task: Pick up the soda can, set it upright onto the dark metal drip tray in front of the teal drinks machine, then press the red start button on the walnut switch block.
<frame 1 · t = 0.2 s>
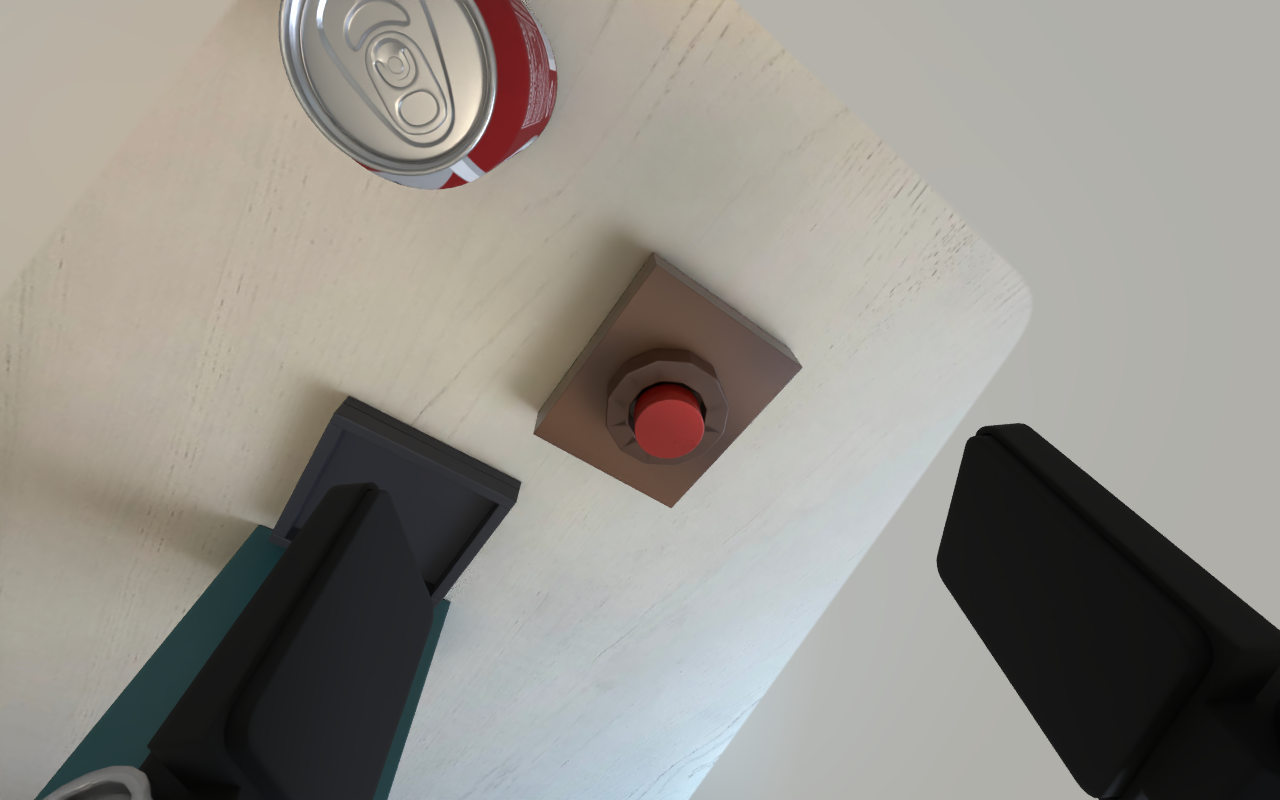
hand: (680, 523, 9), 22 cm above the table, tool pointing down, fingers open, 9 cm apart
drinks machine: (344, 590, 40), on the table
start switch: (661, 381, 33), on the table
start button: (668, 421, 29), point 5 cm above the table, slide at 0.1 cm
soda can: (484, 75, 25), on the table
drip tray: (401, 501, 37), on the table
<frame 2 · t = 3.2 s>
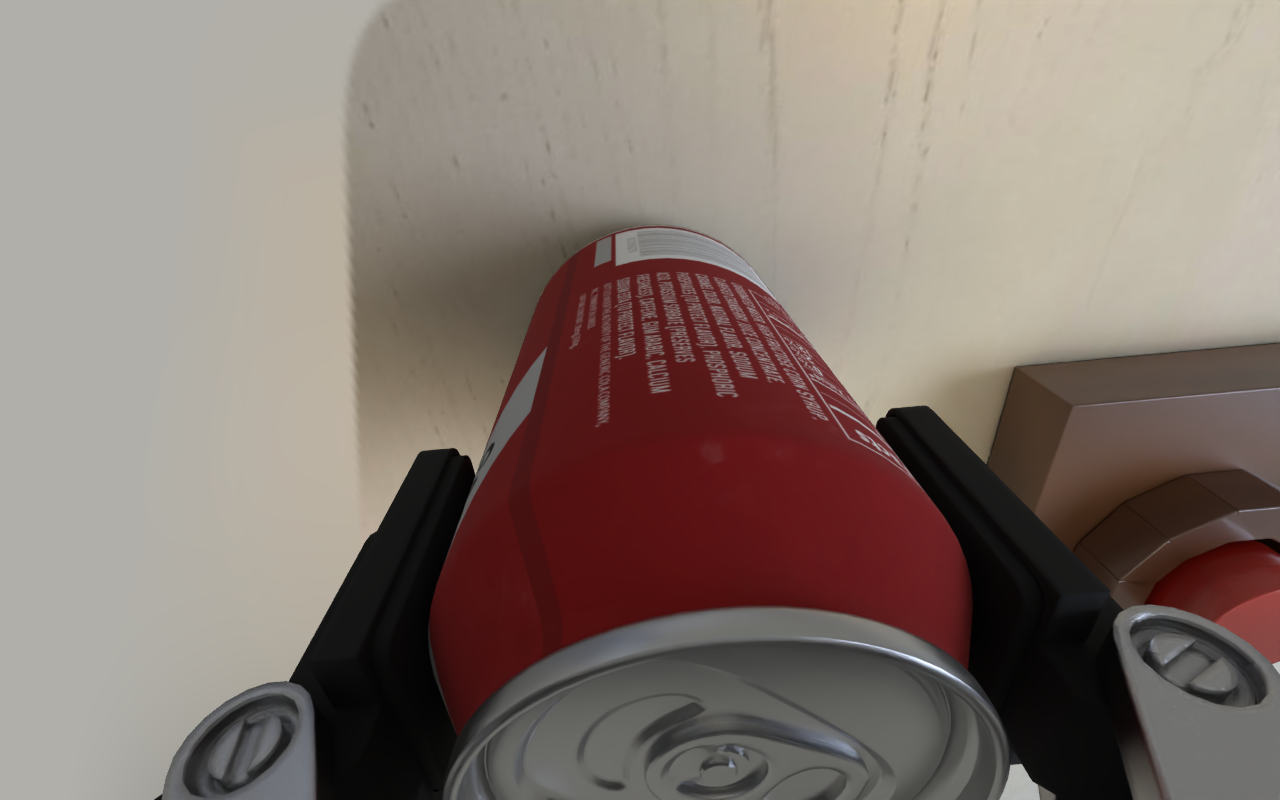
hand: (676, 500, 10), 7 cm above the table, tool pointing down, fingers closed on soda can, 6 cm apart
start switch: (1111, 503, 20), on the table
start button: (1234, 606, 16), point 5 cm above the table, slide at 0.1 cm
soda can: (651, 336, 16), on the table, touching gripper
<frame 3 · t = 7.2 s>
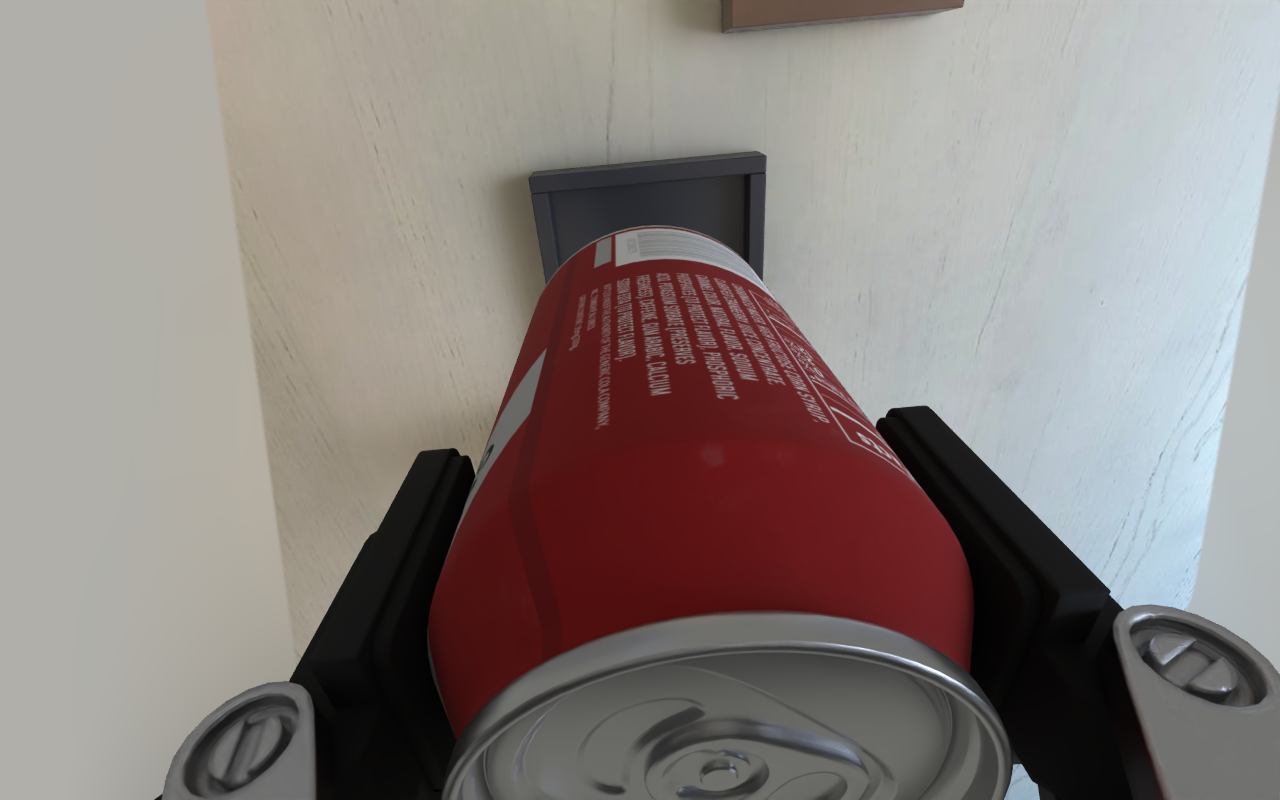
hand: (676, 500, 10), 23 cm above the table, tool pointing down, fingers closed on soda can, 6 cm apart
soda can: (651, 337, 16), point 16 cm above the table, touching gripper
drip tray: (652, 271, 31), on the table
when the fingers open (8 cm above the table, at t = 11.3 s): soda can stays where it is, resting on drip tray.
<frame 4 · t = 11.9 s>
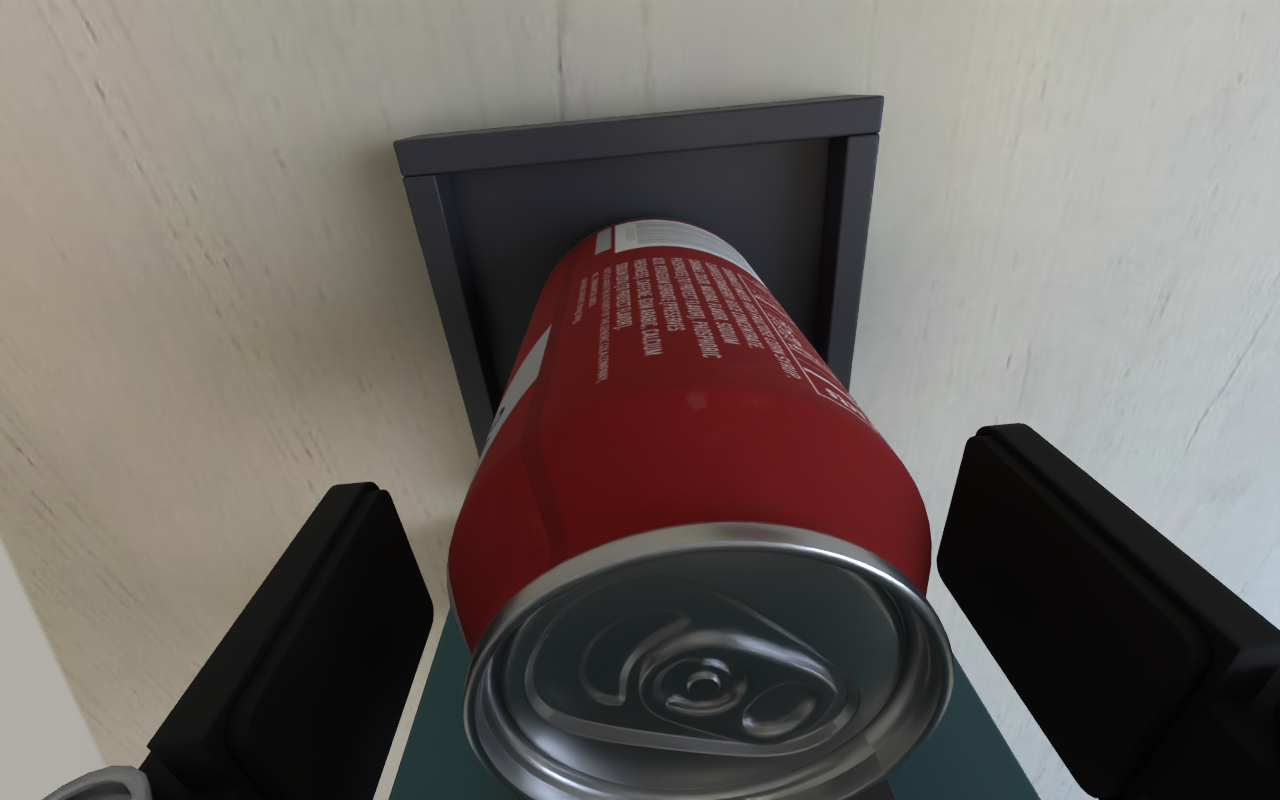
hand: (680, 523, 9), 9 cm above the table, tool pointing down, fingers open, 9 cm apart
drinks machine: (668, 551, 22), on the table
soda can: (649, 324, 17), point 1 cm above the table, touching drip tray
drip tray: (650, 320, 17), on the table
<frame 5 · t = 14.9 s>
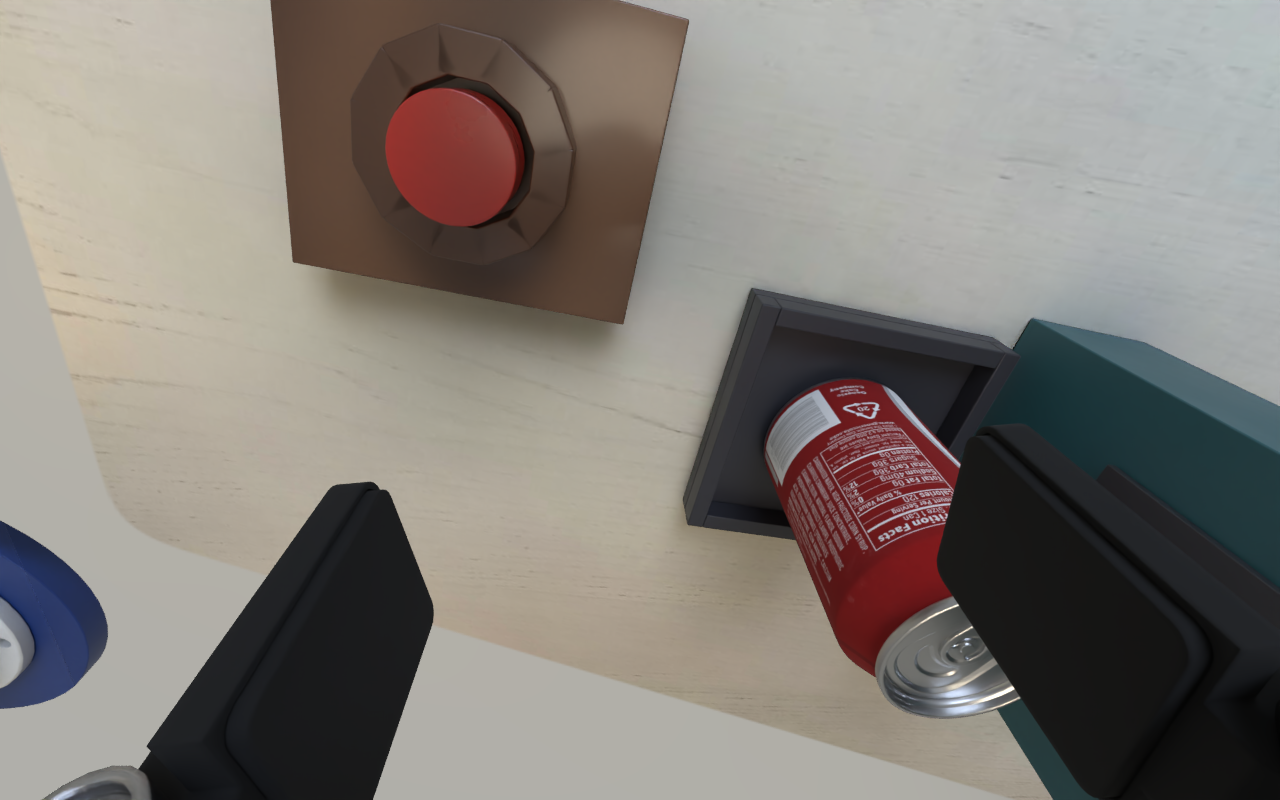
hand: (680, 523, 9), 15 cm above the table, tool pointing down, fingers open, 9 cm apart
drinks machine: (1007, 454, 28), on the table
start switch: (488, 144, 20), on the table
start button: (458, 158, 16), point 5 cm above the table, slide at 0.1 cm
soda can: (829, 431, 26), point 1 cm above the table, touching drip tray
drip tray: (827, 424, 27), on the table
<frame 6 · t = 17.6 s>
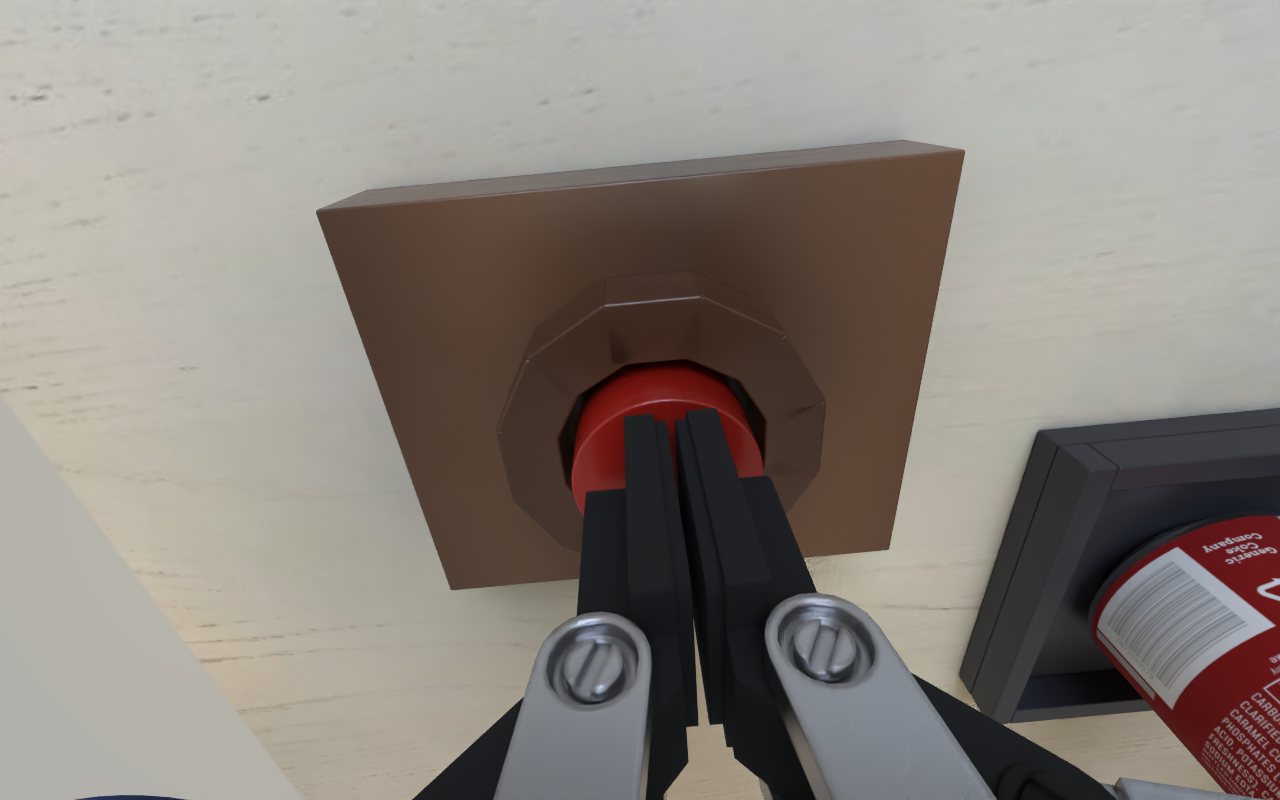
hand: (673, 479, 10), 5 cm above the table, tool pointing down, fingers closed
start switch: (651, 367, 15), on the table
start button: (664, 456, 11), point 4 cm above the table, slide at -0.3 cm, touching gripper
soda can: (1172, 570, 18), point 1 cm above the table, touching drip tray
drip tray: (1159, 555, 19), on the table
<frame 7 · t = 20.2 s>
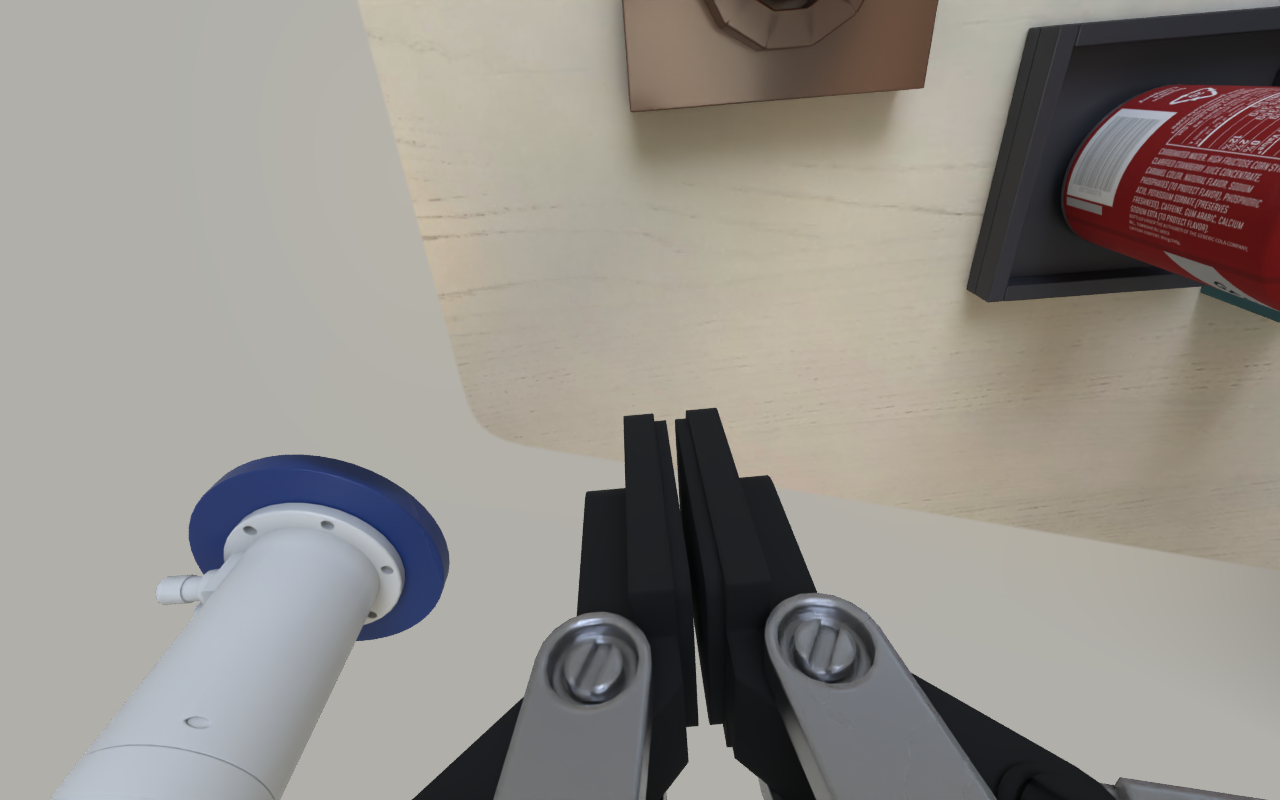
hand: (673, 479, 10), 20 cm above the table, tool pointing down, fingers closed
soda can: (1123, 167, 26), point 1 cm above the table, touching drip tray
drip tray: (1116, 163, 26), on the table
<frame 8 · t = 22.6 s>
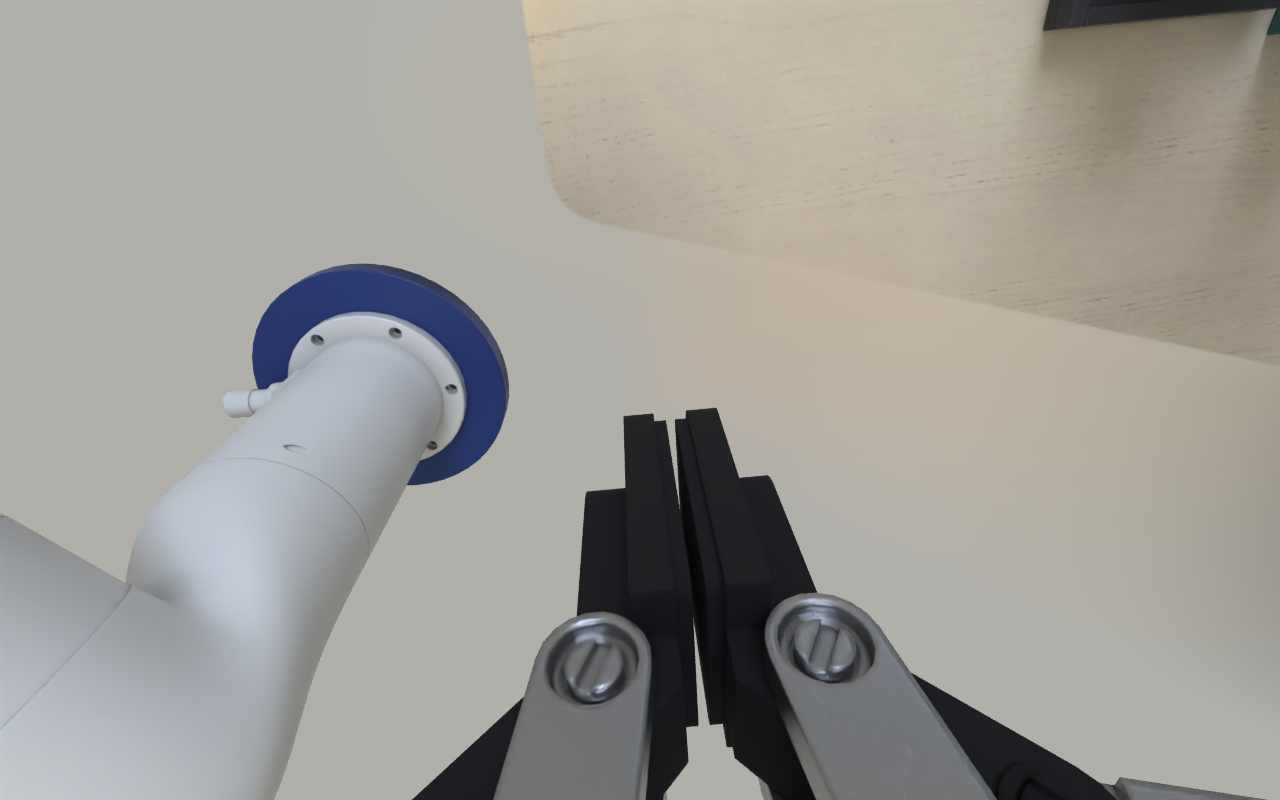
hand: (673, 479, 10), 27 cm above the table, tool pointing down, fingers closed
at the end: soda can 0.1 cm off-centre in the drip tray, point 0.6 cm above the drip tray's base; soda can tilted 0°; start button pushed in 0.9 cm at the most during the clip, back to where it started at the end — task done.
